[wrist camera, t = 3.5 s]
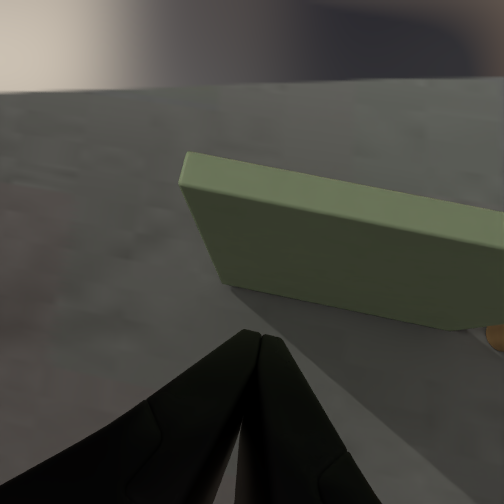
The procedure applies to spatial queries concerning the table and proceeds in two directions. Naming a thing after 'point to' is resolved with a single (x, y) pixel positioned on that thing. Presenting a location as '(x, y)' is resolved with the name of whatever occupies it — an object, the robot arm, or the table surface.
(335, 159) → the table surface
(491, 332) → the door post
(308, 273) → the door
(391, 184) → the table surface
